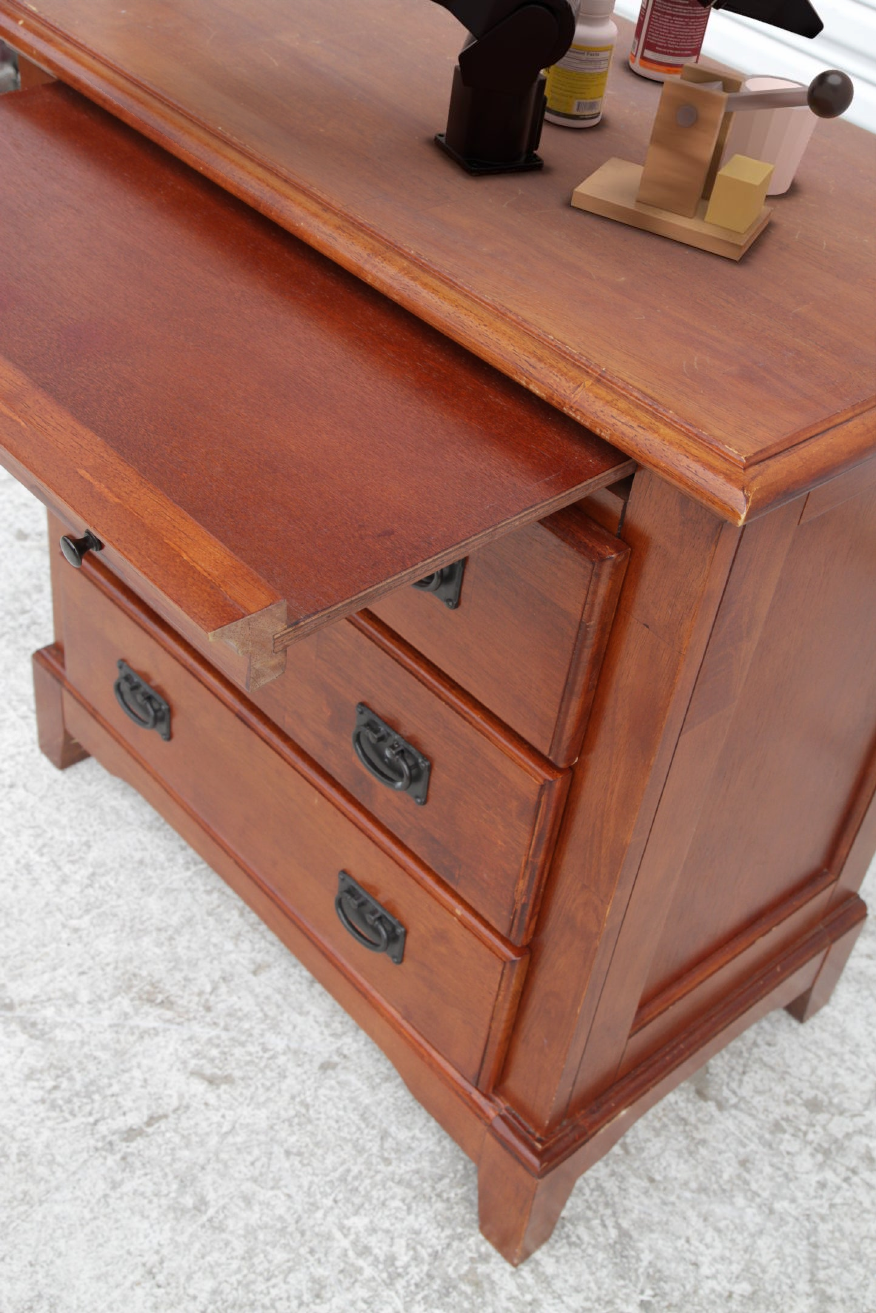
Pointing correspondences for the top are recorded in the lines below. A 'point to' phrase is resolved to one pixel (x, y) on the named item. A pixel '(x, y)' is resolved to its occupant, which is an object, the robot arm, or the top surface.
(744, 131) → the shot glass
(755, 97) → the lever
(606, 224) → the top surface
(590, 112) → the supplement bottle
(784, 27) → the robot arm
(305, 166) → the top surface
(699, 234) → the butter cutter
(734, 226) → the butter
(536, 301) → the top surface
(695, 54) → the pill bottle
